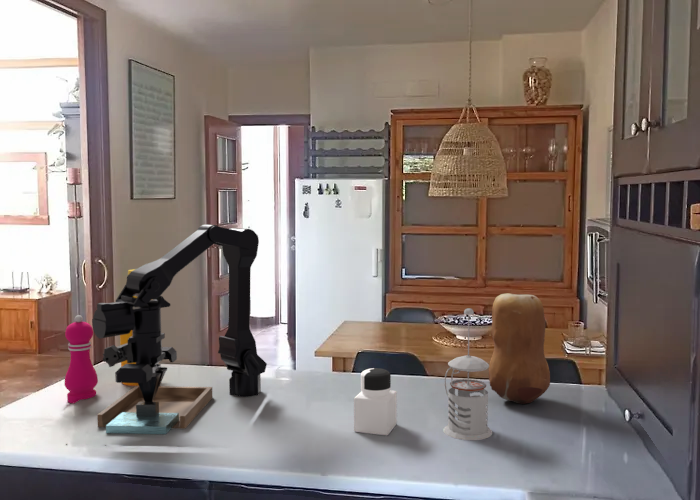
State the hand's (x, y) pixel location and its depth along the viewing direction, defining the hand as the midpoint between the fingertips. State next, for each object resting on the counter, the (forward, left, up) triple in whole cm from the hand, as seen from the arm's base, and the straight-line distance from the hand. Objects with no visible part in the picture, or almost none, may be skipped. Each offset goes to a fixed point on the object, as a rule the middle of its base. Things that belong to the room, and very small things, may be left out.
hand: (149, 404), depth 138 cm
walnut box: (0, -5, -4) cm, 7 cm away
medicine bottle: (-47, 0, -4) cm, 47 cm away
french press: (-65, 0, -4) cm, 65 cm away
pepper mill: (+22, -15, -4) cm, 27 cm away
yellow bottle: (+13, -28, -4) cm, 31 cm away
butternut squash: (-79, -19, -4) cm, 82 cm away
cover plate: (0, +4, -3) cm, 5 cm away
